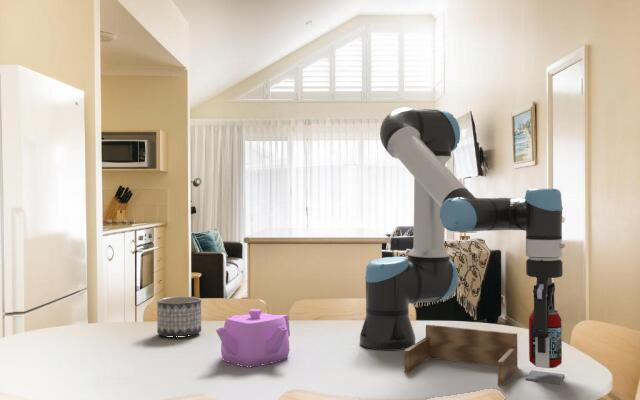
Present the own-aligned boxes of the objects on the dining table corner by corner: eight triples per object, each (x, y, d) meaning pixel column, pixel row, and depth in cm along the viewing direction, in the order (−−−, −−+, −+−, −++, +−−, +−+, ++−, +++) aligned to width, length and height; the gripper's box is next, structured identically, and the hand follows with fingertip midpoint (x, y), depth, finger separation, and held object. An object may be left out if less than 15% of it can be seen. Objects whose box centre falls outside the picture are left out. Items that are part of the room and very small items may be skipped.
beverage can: (537, 369, 131) (536, 313, 131) (524, 361, 138) (523, 308, 138) (567, 368, 132) (567, 313, 132) (553, 360, 139) (552, 307, 139)
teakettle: (290, 350, 162) (290, 303, 162) (287, 368, 145) (287, 315, 145) (225, 351, 162) (225, 304, 162) (215, 369, 145) (215, 316, 145)
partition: (404, 372, 140) (404, 337, 140) (427, 356, 154) (426, 324, 154) (502, 385, 130) (502, 347, 130) (517, 367, 144) (517, 333, 144)
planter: (210, 333, 183) (210, 298, 183) (179, 341, 173) (179, 304, 173) (179, 329, 190) (179, 295, 190) (148, 336, 179) (147, 301, 179)
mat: (525, 379, 134) (525, 378, 134) (531, 371, 140) (531, 370, 140) (559, 384, 130) (559, 382, 130) (564, 375, 137) (564, 374, 137)
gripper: (555, 263, 125) (557, 376, 125) (567, 255, 142) (568, 355, 142) (517, 261, 128) (518, 372, 128) (533, 254, 146) (534, 351, 146)
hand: (545, 362), depth 135 cm, fingers closed on beverage can, 7 cm apart
